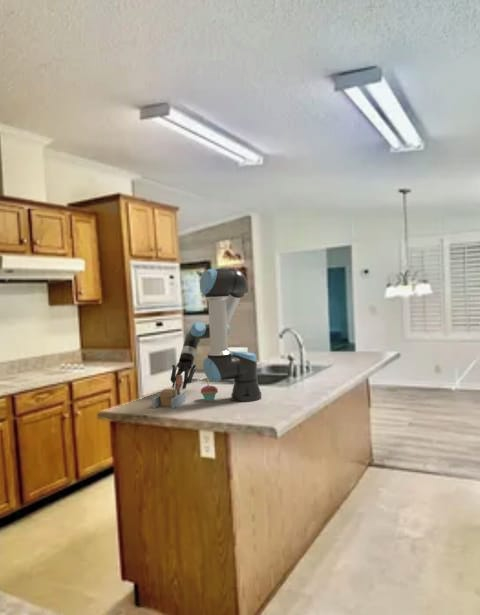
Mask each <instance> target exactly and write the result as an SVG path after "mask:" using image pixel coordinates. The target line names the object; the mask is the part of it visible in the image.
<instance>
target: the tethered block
mask: <svg viewBox="0 0 480 615" xmlns="http://www.w3.org/2000/svg"><path fill="white" fill-rule="evenodd" d="M175 376H176V375H175ZM182 381H184V378H183V374H181V375H177V376H176V384H177V390H176V389H173V388H172V389H171V388H170V389H168V388H165V389H163V390H161V391H159V393H160V394H159V395H160V401H161V405H160V407H168V406H171V399H172V398H174V397H176V396H177V395H179V394H180V393H179V391H180V388H181V384H182Z"/></svg>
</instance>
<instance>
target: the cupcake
mask: <svg viewBox="0 0 480 615" xmlns="http://www.w3.org/2000/svg"><path fill="white" fill-rule="evenodd" d="M206 382H207V385H206V386H203V387H202V388H201V389H200V393H201V395H202V397H203V399H204V401H205V402H210V401H211V402H212V401H215V398H216V395H217V393H218V392H219V391H218V388H217V387H216V386H215V385H210V383H209V382H210V380H209V379H208V378H207V377H206Z"/></svg>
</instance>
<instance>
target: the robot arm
mask: <svg viewBox="0 0 480 615" xmlns="http://www.w3.org/2000/svg"><path fill="white" fill-rule="evenodd" d="M199 289H200V292H201V293H202V294H203V295H204V298H205V299H206V300H207V301H208V321H209V322H208V323H209V324H205V323H204V322H201V321H195V322H193V324H192V325H191V327H190V328H189V331H187V332H186V335H185V338H184V343H183V346H182V349H181V352H180V356H179V358H178V359H179V360H178V363H177V364H176V365H174V364H172V371H171V375H170V381H171V383H172V386H171V388H172V389H176V391H177V384H176V376H177V375H183V374H184V375H183V377H184V378H183V381H182V384H181V388H180V391H179V393H180V394H181V393H184V390H185V389H186V388H187V384H191V383H192V380H193V379H194V378H193V377H194V374H195V372H196V370H197V369H198V368H197V366H196V364H193V363H194V360H195V357H196V352H197V349H198V345H199V343H200V342H201V340H202V339H205V340H206V339H209V346H210V349H209V351H208V352H207V357H206V358H204V359H203V371H204V374H205V376H206V379H207V378H208V380H209V382H214V383H215V382H219V383H220V382H223V381H224V380H231V379H234V381H233V386H232V392H231V393H230V394H231V395H230V397H231V400H232V401H236V402H253V401H254V402H255V401H257V400H260V399H262V397H263V396H262V392H261V390H260V386H259V383H258V367H257V366H258V365H257V364H258V361H257V354H255V353H253V352H249V351H248V352H233V355H231V352H230V351H229V350H228V348H229V340H228V337H229V335H230V325H229V324H230V321H231V320H232V317H233V315H234V313H235V311H236V308H237V307H238V305H239V303H240V300H241V299H242V298H243V297H244V296H245V295H246V292H247V289H248V281H247V279H246V275H244V273H243V272H242V271H240V270H239V269H237V268H208V269H205V270H204V271H203V272H202V274H201V277H200V282H199ZM183 372H184V373H183Z"/></svg>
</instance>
